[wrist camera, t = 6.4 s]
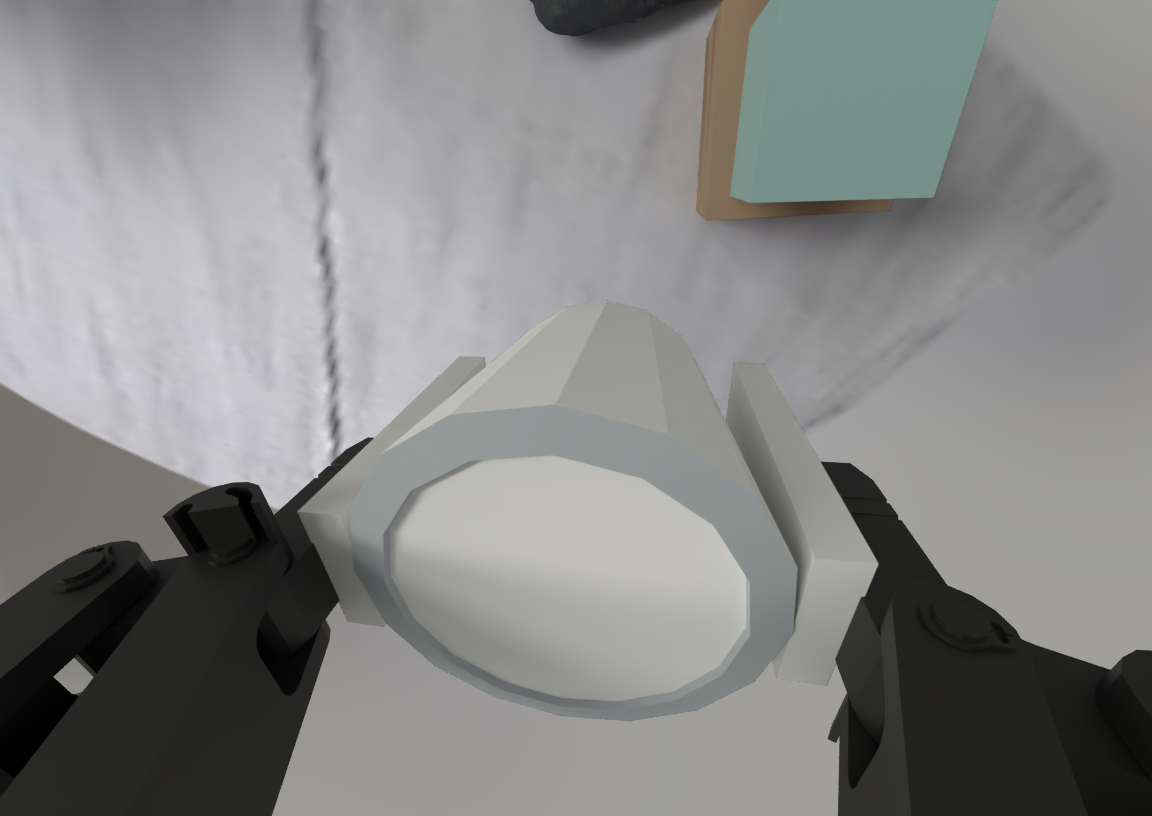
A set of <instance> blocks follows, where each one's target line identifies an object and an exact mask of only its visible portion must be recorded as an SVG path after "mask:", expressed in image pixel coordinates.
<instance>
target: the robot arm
mask: <svg viewBox="0 0 1152 816" xmlns="http://www.w3.org/2000/svg"><path fill="white" fill-rule="evenodd" d="M485 367H486V363H485V357H462V356H460V357H459V358H458V359H457V360H456V361H454V362H453V363H452V364H451V365H450V366H449V367H448V368H447V369H446V370H445V371H444V372H443V373H442V374H441V375H440V376H439V377H438V378H437V379H436V380H435V381H434V382H432V383H431V384H430V385H429V386H428V387H427V388H426V389H425V390H424V391H423V392H422V393H421V394H420V395H419V396H418V397H417V398H416V399H415V400H414V401H413V402H412V403H410V404H409V405H408V406H407V407H406V408H405V409H404V410H403V411H402V412H401V413H400V414H399V415H398V416H397V417H396V418H395V419H394V420H393V421H392V422H391V423H390V424H389V425H387V426H386V427H385V428H384V429H383V430H382V431H381V432H380V433H379V434H378V435H377V436H376V437H375V438H369V437H368V438H366V439H364V440H363V441H361V442H359V443H357V444H355V445H353V446H352V447H350V448H348V449H346V450H345V451H344V452H343V453H342V454H341V455H340V456H339V457H338V458H337V459H335V460H334V461H333V462H332V463H331V466H328V467H327V468H325V469H324V470H323V471H322V472H321V473H320V474H319V475H318V478H314V479H313V480H312V481H311V482H310V483H309V484H308V485H307V486H306V487H304V488H303V489H302V490H301V491H300V492H299V493H298V494H297V495H296V496H295V497H293V498H292V499H291V500H290V501H289V502H288V503H287V504H286V505H285V506H284V507H282V508H281V509H280V510H279V511H278V512H277V513H276V514H275V515H273V513H272V511H271V509H270V507H269V505H268V503H267V501H266V499H265V497H264V495H263V493H262V491H261V489H260V487H259V485H256V484H253V483H250V482H237V483H229V484H225V485H220V486H216V487H213V488H210V489H208V490H205V491H203V492H200V493H197V494H195V495H193V496H191V497H190V498H188V499H186V500H184V501H183V502H181V503H179V504H177V505H176V506H175V507H173V508H172V509H171V510H170V511H169V512H167V513H166V514H165V515H164V516H163V517H164V519H165V521H166V522H167V524H168V525H169V526H170V528H171V530H172V531H173V533H174V534H175V536H176V537H177V539H178V540H179V542H180V543H181V545H182V546H183V548H184V549H185V551H186V552H187V554H188V555H189V556H185V557H178V558H172V559H166V560H159V561H152V562H151V560H150V559H149V557H148V556H147V555H146V553H145V552H144V550H143V549H142V548H141V546H140V545H139V544H138V543H136V542H131V541H119V542H111V543H107V544H103V545H99V546H97V547H92V548H89V549H86V550H84V551H82V552H80V553H79V554H77V555H75V556H73V557H71V558H68V559H66V560H65V561H63V562H62V563H60V564H58V565H57V566H55V567H53V568H52V569H50V570H49V571H47V572H45V573H44V574H43V575H41V576H40V577H39V578H37V579H36V580H34V581H33V582H32V583H30V584H29V585H27V586H26V587H25V588H23V589H22V590H20V591H19V592H18V593H16V594H15V595H13V596H12V597H11V598H9V599H8V600H6V601H5V602H4V603H3V604H1V605H0V816H272V813H273V810H274V807H275V804H276V801H277V798H278V795H279V792H280V789H281V786H282V783H283V780H284V777H285V773H286V771H287V767H288V764H289V762H290V759H291V756H292V752H293V749H294V747H295V743H296V740H297V737H298V734H299V731H300V728H301V725H302V722H303V719H304V716H305V713H306V710H307V707H308V704H309V701H310V698H311V695H312V692H313V689H314V686H315V683H316V680H317V677H318V674H319V670H320V667H321V665H322V662H323V658H324V655H325V652H326V649H327V646H328V643H329V639H330V628H329V626H328V624H327V622H326V620H325V619H326V618H327V616H328V615H329V614H330V612H331V611H332V610H333V608H334V607H335V606H336V604H337V603H338V602H339V604H340V606H341V608H342V610H343V613H344V615H345V617H346V619H347V621H348V622H352V623H360V624H367V625H375V626H383V627H385V625H386V623H385V621H384V620H383V618H382V616H381V615H380V613H379V611H378V610H377V608H376V606H375V605H374V603H373V601H372V600H371V598H370V596H369V595H368V593H367V591H366V589H365V588H364V586H363V584H362V583H361V581H360V579H359V578H358V576H357V574H356V573H355V571H354V565H353V554H352V543H351V532H350V521H349V510H350V508H351V507H352V505H353V503H354V501H355V499H356V497H357V495H358V493H359V492H360V490H361V488H362V486H363V484H364V482H365V480H366V478H367V477H368V475H369V473H370V471H371V469H372V467H373V465H374V464H375V462H376V460H377V458H378V456H379V455H380V454H381V453H382V452H384V451H385V450H386V449H387V448H388V447H390V446H391V445H392V444H393V443H395V442H396V441H397V440H398V439H399V438H401V437H402V436H403V435H404V434H405V433H407V432H408V431H409V430H410V429H411V428H413V427H414V426H415V425H416V424H417V423H419V422H420V421H421V420H422V419H423V418H425V417H426V416H427V415H428V414H429V413H431V412H432V411H433V410H434V409H436V408H437V407H438V406H439V405H440V404H442V403H443V402H444V401H445V400H446V399H448V398H449V397H450V396H451V395H452V394H454V393H455V392H456V391H457V390H458V389H460V388H461V387H462V386H463V385H464V384H466V383H467V382H468V381H469V380H470V379H472V378H473V377H474V376H475V375H477V374H478V373H479V372H480V371H481V370H483V369H484V368H485ZM726 423H727V425H728V427H729V429H730V431H731V433H732V435H733V437H734V439H735V441H736V443H737V445H738V447H739V449H740V451H741V453H742V455H743V458H744V460H745V462H746V464H747V466H748V468H749V470H750V472H751V474H752V476H753V478H754V480H755V482H756V484H757V486H758V488H759V490H760V492H761V494H762V496H763V498H764V500H765V502H766V504H767V506H768V508H769V510H770V512H771V514H772V516H773V519H774V521H775V523H776V525H777V527H778V529H779V531H780V533H781V535H782V537H783V539H784V541H785V543H786V545H787V547H788V549H789V551H790V553H791V555H792V557H793V559H794V561H795V563H796V565H797V567H798V571H797V585H796V600H795V614H794V628H793V634H792V635H791V637H790V638H789V639H788V640H787V642H786V643H785V644H784V646H783V647H782V648H781V649H780V651H779V652H778V653H777V654H776V656H775V657H774V658H773V659H772V663H773V667H774V671H775V675H776V679H782V680H790V681H797V682H805V683H813V684H820V685H828V682H829V680H830V678H831V675H832V673H833V671H834V668H835V666H836V664H837V666H838V669H839V672H840V674H841V677H842V680H843V682H844V685H845V688H846V691H847V694H846V696H845V698H844V700H843V703H842V705H841V707H840V709H839V711H838V713H837V715H836V717H835V720H834V722H833V724H832V726H831V729H830V733H829V736H828V739H829V740H831V741H833V742H835V743H836V742H837V740H838V738H839V736H840V745H839V749H840V750H839V795H838V816H1152V651H1149V650H1135V651H1134V652H1132V653H1130V654H1128V655H1126V656H1124V657H1123V658H1122V659H1121V660H1120V661H1119V662H1118V663H1117V664H1116V665H1115V666H1114V667H1113V668H1112V669H1111V670H1109V669H1106V668H1103V667H1100V666H1097V665H1094V664H1091V663H1088V662H1085V661H1082V660H1079V659H1076V658H1073V657H1070V656H1067V655H1064V654H1061V653H1058V652H1055V651H1052V650H1049V649H1045V648H1043V647H1040V646H1037V645H1034V644H1032V643H1029V642H1027V641H1024V640H1022V639H1021V638H1020V636H1019V635H1018V633H1017V631H1016V630H1015V629H1014V628H1013V627H1012V626H1011V625H1010V624H1009V623H1008V622H1007V621H1006V620H1005V619H1004V618H1003V617H1002V616H1001V615H1000V614H998V612H996V611H995V610H993V609H992V608H990V607H989V606H987V605H986V604H984V603H983V602H981V601H979V600H978V599H976V598H975V597H973V596H972V595H969V594H967V593H964V592H962V591H960V590H957V589H955V588H952V587H950V586H947V584H946V583H945V581H944V580H943V578H942V577H941V576H940V574H939V573H938V572H937V570H936V569H935V567H934V566H933V564H932V563H931V562H930V560H929V559H928V557H927V556H926V554H925V553H924V552H923V550H922V549H921V547H920V546H919V545H918V543H917V542H916V540H915V539H914V537H913V536H912V535H911V533H910V532H909V531H908V529H907V528H906V526H905V525H904V523H903V522H902V521H901V520H898V515H897V514H896V512H895V511H894V510H893V508H892V506H891V505H890V504H889V503H887V502H886V501H887V499H886V498H885V496H884V495H883V494H882V492H881V491H880V489H879V488H878V487H877V485H876V484H875V482H874V481H873V480H872V479H871V478H869V477H868V476H867V475H865V474H864V473H863V472H861V471H860V470H858V469H857V468H856V467H855V466H853V465H852V464H850V463H836V462H820V460H819V458H818V457H817V455H816V453H815V451H814V450H813V448H812V446H811V444H810V443H809V441H808V439H807V437H806V436H805V434H804V432H803V430H802V429H801V427H800V425H799V423H798V422H797V420H796V418H795V416H794V415H793V413H792V411H791V409H790V407H789V406H788V404H787V402H786V400H785V399H784V397H783V395H782V393H781V392H780V390H779V388H778V386H777V385H776V383H775V381H774V379H773V378H772V376H771V374H770V372H769V371H768V369H767V367H766V365H765V364H757V363H734V366H733V373H732V380H731V387H730V394H729V400H728V407H727V414H726ZM73 658H75V659H76V660H77V661H78V662H79V663H80V664H81V665H82V666H83V667H84V668H85V669H86V670H87V671H88V672H89V673H90V674H91V675H92V676H93V677H94V678H93V679H92V680H91V682H90V683H89V684H88V686H87V687H86V688H85V689H84V691H82V692H80V693H77V694H71V693H70V692H69V691H68V690H67V689H66V688H65V687H64V686H63V685H61V684H60V683H59V682H58V681H57V680H56V679H55V678H54V677H53V676H55V675H56V674H57V673H58V672H59V671H60V670H61V669H62V668H63V667H64V666H65V665H66V664H68V663H69V662H70V661H71V660H72V659H73Z"/></svg>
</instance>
